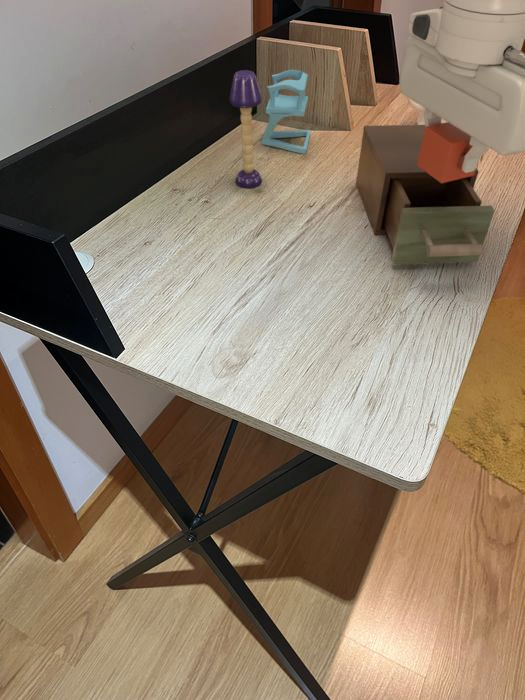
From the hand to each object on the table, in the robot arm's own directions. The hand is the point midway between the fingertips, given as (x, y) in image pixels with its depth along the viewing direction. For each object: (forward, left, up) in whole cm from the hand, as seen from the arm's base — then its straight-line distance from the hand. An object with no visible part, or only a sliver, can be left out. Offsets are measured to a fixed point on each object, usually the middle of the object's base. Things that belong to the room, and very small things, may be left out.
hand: (448, 157), depth 70 cm
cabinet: (-4, -10, -14) cm, 18 cm away
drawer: (0, 0, -13) cm, 13 cm away
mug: (-26, -33, -14) cm, 45 cm away
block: (0, 0, -2) cm, 2 cm away
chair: (+3, -37, -14) cm, 40 cm away
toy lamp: (+15, -27, -14) cm, 34 cm away
